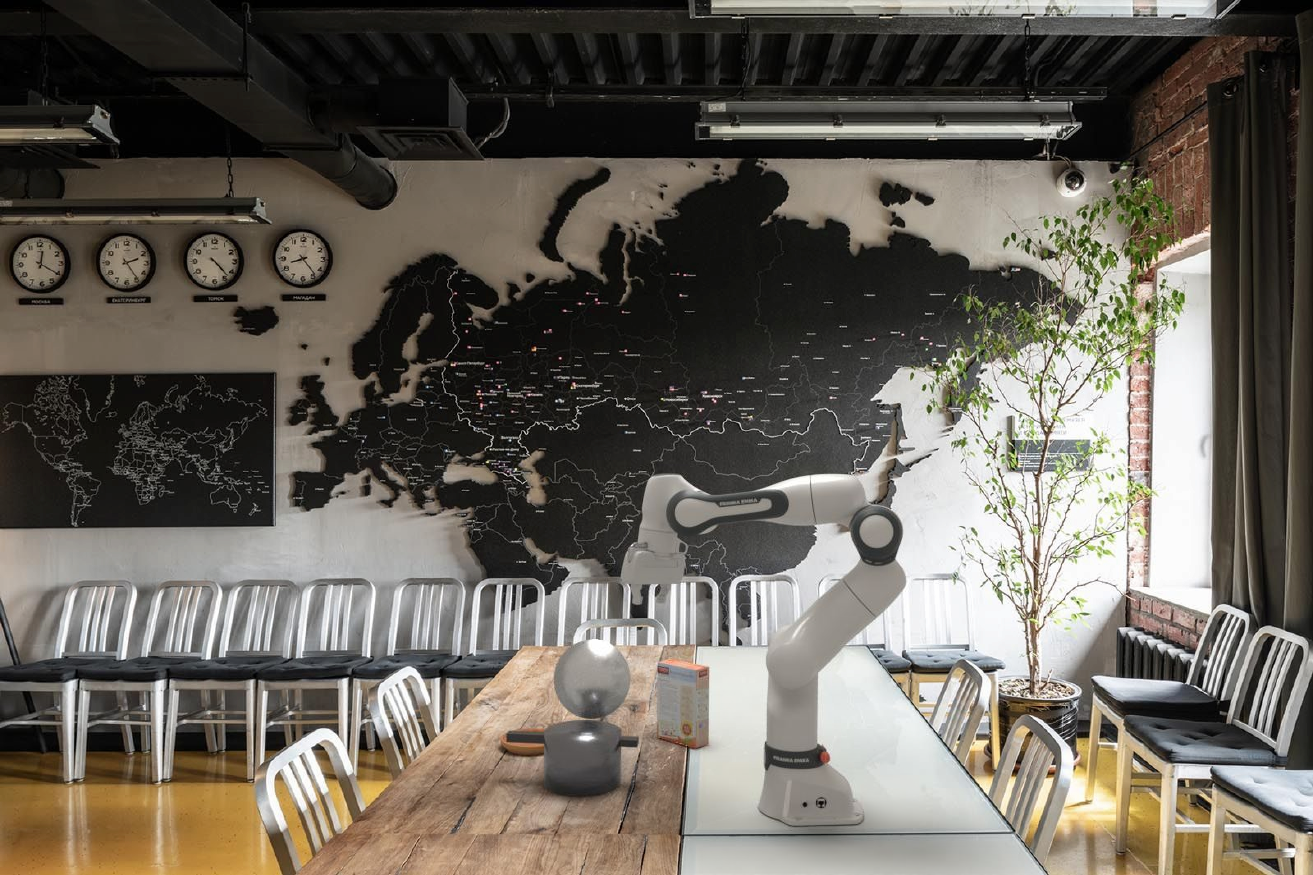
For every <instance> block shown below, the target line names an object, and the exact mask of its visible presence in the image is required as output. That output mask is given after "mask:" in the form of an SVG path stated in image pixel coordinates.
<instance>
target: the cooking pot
mask: <svg viewBox="0 0 1313 875" xmlns="http://www.w3.org/2000/svg"><path fill="white" fill-rule="evenodd" d="M544 729H545V731H544V732H530V731H513V730H508V731H506V733H507V734H506V742H513V743H535V744H544V753H543V786H544V787H543V788H545V789H546V790H547V791H549V792H551V793H553V794H556V795H559V796H565V797H572V798H573V797H574V798H575V797H576V798H583V797H584V798H586V797H587V798H588V797H596V796H601V795H602V796H603V795H605V794H609V793H612V792H613V791H616V790H617V789H618V788H620V787H621V786H620V785H621V784H620V783H622V748H636V749H637V748H638V746H639V743H640V741H639V740H640V737H639V736H632V735H629V736H628V735H622V729H621V728H620V726H618V725H616V724H614V723H611V722H608V721H603V720H597V719H576V720H575V719H574V720H565V721H560V722H557V723H554V724H551V725H550V726H547V727H546V728H544ZM616 788H617V789H616ZM615 789H616V790H615ZM608 792H609V793H608Z"/></svg>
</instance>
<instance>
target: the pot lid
mask: <svg viewBox="0 0 1313 875" xmlns="http://www.w3.org/2000/svg"><path fill="white" fill-rule="evenodd" d="M553 672H554V673H553V687H554V691H555V694H556V696H557V699H558V701H559V702H560V704H561V705H562V706H563V708H565V710H567V711H568V712H570V713H571V714H573V715H574V716H576V717H579V718H581V719H584V720H597V719H602V718H605V717H607V716H609V715H610V714H612V713H614V712H615V711H617V710H618V709H619V708H620V706H621V705H622V704H623V703H624V702H625V700H626V698H627V697H628V694H629V691H630V687H631V670H630V667H629V664H628V661H627V660H626V657H625V656H624V655H623V653H622V652H621V651H620V650H619V649H618V648H617V647H616V646H614V645H613V644H611V643H610V642H607V641H604V640H600V639H586V640H585V639H584V640H580V641H578V642H576V643H574V644H572V645H570V646H569V647H568V648H567V649H566V650H565V651H564V652H562V654H561V656H560V657H559V659H558V660H557V663H556V664H555V668H554V671H553Z"/></svg>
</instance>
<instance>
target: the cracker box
mask: <svg viewBox="0 0 1313 875" xmlns="http://www.w3.org/2000/svg"><path fill="white" fill-rule="evenodd" d="M656 688H657V691H656V692H657V693H656V697H657V698H656V699H657V700H656V701H657V702H656V738H657V737H660V738H663V739H665V740H664V741H666V740H669V741H668V742H670V741H672V742H671V743H673V742H678V743H682V744H684V745H687V746H688V747H687V746H686V747H687V748H691V749H694V750H695V749H698V748H702V747H704V746H708V745H709V742H710V741H709V739H710V738H709V734H710V733H709V732H710V730H709V729H710V716H709V715H710V666H707V665H703V664H697V663H693V662H687V661H683V660H678V659H673V658H668V659H664V660H661V661H658V662H657V686H656ZM663 739H662V740H663ZM684 745H683V746H684Z"/></svg>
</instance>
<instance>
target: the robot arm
mask: <svg viewBox="0 0 1313 875" xmlns="http://www.w3.org/2000/svg"><path fill="white" fill-rule="evenodd" d="M644 490H645V491H644V496H643V501H642V507H641V512H642V520H641V522H640V524H639V528H638V530H639V531H638V538H637V541H636V542H632V544H631V545H630V546H629V547H628V548H627V551H626V553H625V556H624V559H623V563H622V567H621V573H620V579H621V583H623V584H627V585H630V590H631V591H630V592H631V595H632V600H631V601H632V602H631V603H632V604H633V605H638V606H639V605H642V603H643V600H644V596H642V594H641V590H642V589H643V585H659V586H660V590H659V593H658V594H656V599H655V602H656V603H657V604H666V603H667V596H668V595H669V593H670V591H671V589H672V585H680V584H681V582H682V581H683V578H684V573H685V567H686V556H685V554H687V553H688V548H689V547H688V544H687V543H686V542H684V541H682V540H681V539H680V538H679V537H678V535H680V536H682V537H694V536H697V535H704V534H708V533H711V532H712V531H713V530H715V529H716V528H717V527H718V526H719V525H725V524H733V523H734V524H735V523H741V522H754V521H757V522H758V521H760V522H769V523H775V524H781V525H786V526H796V527H797V526H799V527H801V526H802V527H807V526H808V527H809V526H818V525H819V526H820V525H826V524H839V525H843V526H844V527H846V528H847V529H848V530H849V533H850V538H851V541H852V542H853V545H854V547H855V548H856V550H857V552H858V555H859V561H858V563H857V564H856V565H855V566H854V567H853V568H852V569H851V570H850V571H849V572H847V573H846V574H845V575H844V576H843V577H842V578H840V579H839V580H838V581H837V582H836V583H835V584H834V585H832V586H831V587H830V588H829V589H827V591H826V592H824V593H823V594H822V595H821V596H820V597H818V598H817V599H816V600H815V601H813V603H812V605H810V606H809V607H808V608H807V609H806V610H805V611H804V612H803V613H802V614H801V615H800V616H799V618H797V619H796V620H795V621H794V622H793V623H792V624H788V625H784V626H781V627H780V628H778V629H777V630H776V631H775V632H774V634H772V636H771V639H770V641H769V644H768V646H767V647H768V648H767V651H766V656H765V667H766V670H767V672H768V676H767V678H768V679H767V695H766V696H767V699H766V740H765V741H764V746H763V768H764V779H763V785H762V789H761V790H762V791H761V794H760V799H759V801H758V806H757V808H758V809H759V811H760V812H761V813H762V814H764V815H765V816H768V817H770V818H772V819H776V820H779V821H782V822H783V823H784V824H786V825H788V826H792V827H795V826H796V827H797V826H803V827H804V826H833V825H834V826H835V825H837V826H838V825H841V826H842V825H857V824H860V823H862V821H863V820H864V817H865V816H864V808H863V806H862V803H860V802H859V800H858V799H856V798H854V796H853V791H852V787H851V784H850V782H849V780H848V779H847V777H846V776H845V775H843V774H842V773H841V772H839V771H838V770H837V769H836V768H834V767H833V766H832V765H831V764H829V762H831V755H830V753H829V752H827V748H826V747H825V746H824V744H820V743H818V727H819V726H818V721H819V720H818V713H819V710H818V709H819V703H818V702H819V701H818V700H819V697H818V696H819V673H820V672H821V671H822V670H823V669H824V668H825V667H826V666H827V665H828V664H829V663H830V662H831V661H833V659H834V658H835V657H836V656H837V655H838V654H839V653H840V652H841V651H842V650H843V649H844V648H845V647H846V646H847V644H849V643H850V642H851V641H852V640H853V639H854V638H855V637H857V635H859V634H860V633H861V632H862V631H863V630H864V629H866V628H868V626H870V624H872V623H873V622H874V621H875V620H876V619H877V618H879V617H880V616H881V615H882V614H883V613H884V612H886V610H887V609H888V608H889V607H890V606H891V605H892V604H893V603H894V602H895V601H896V599H898V597H899V596H900V595H901V593H902V592H903V591H904V589H905V588H906V585H907V576H906V573H905V570H904V568H903V567H902V565H900V564H901V563H899V562H898V560H897V559H896V558H897V554H898V552H899V549H900V546H901V544H902V540H903V536H904V527H903V526H904V525H903V523H902V520H901V519H900V518H901V517H899V514H897V513H896V512H895V511H894V510H893V509H891V508H889V507H887V506H884V505H879V504H876V503H873V502H871V501H868V499H867V496H866V491H865V488H864V486H863V484H862V482H861V481H860V480H859V478H858V477H857V476H855V475H852V474H846V473H845V474H842V473H823V474H822V473H820V474H817V473H816V474H810V475H803V476H798V477H794V478H789V479H786V480H782V481H780V482H777V483H774V484H771V485H769V486H766V487H763V488H760V489H756V490H753V491H752V490H751V491H744V492H743V491H742V492H734V493H726V494H710V493H707V492H705V491H703V490H701V489H699V488H697V487H696V486H693V485H692V484H691V483H689V481H687V480H686V479H684V477H683V475H681V474H679V473H658V474H654V475H651V477H650V478H649V479H648V480H647V483H646V486H645V489H644Z"/></svg>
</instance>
